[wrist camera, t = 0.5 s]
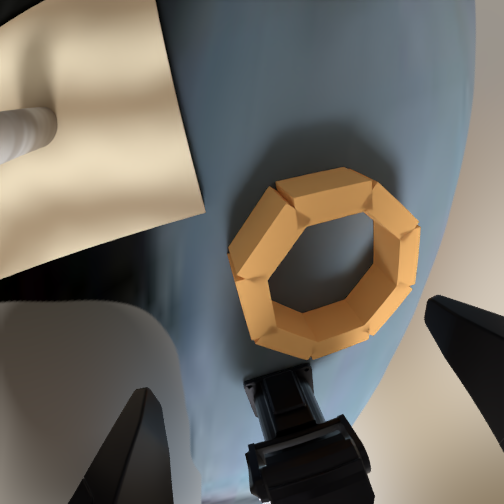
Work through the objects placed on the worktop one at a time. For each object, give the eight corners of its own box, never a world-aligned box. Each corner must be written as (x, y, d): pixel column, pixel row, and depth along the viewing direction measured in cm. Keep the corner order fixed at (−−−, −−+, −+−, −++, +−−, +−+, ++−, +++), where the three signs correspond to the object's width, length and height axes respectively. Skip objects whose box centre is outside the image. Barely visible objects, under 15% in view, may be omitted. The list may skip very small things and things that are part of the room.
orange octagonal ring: (388, 298, 26) (408, 322, 23) (252, 344, 25) (262, 375, 22) (391, 158, 20) (422, 169, 16) (212, 197, 18) (218, 217, 15)
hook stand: (204, 206, 19) (213, 253, 13) (6, 271, 17) (-33, 323, 12) (149, -32, 11) (137, -85, 5) (-53, 77, 9) (-110, 83, 4)
